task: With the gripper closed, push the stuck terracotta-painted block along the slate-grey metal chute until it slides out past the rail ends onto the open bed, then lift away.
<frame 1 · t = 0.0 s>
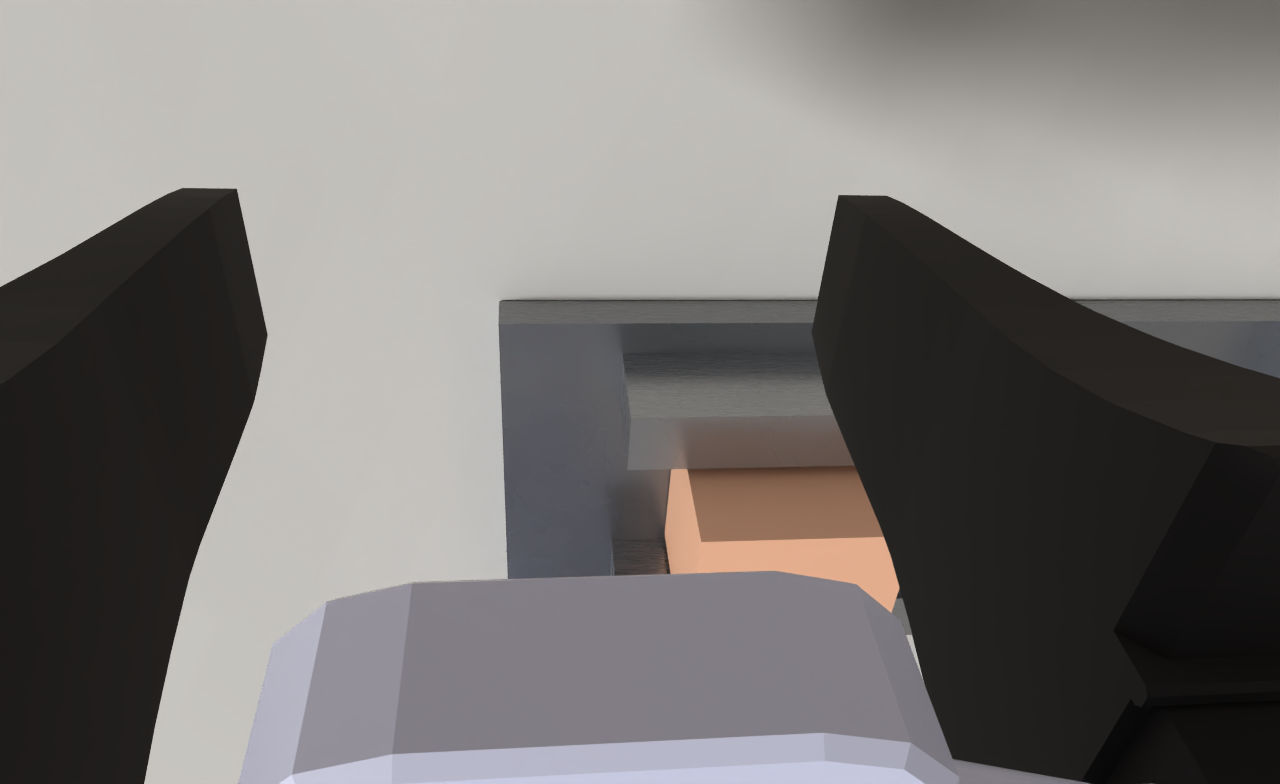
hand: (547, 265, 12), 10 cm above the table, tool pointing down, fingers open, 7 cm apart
chute: (888, 447, 28), on the table
block: (776, 534, 25), point 3 cm above the table, slide at 0.0 cm
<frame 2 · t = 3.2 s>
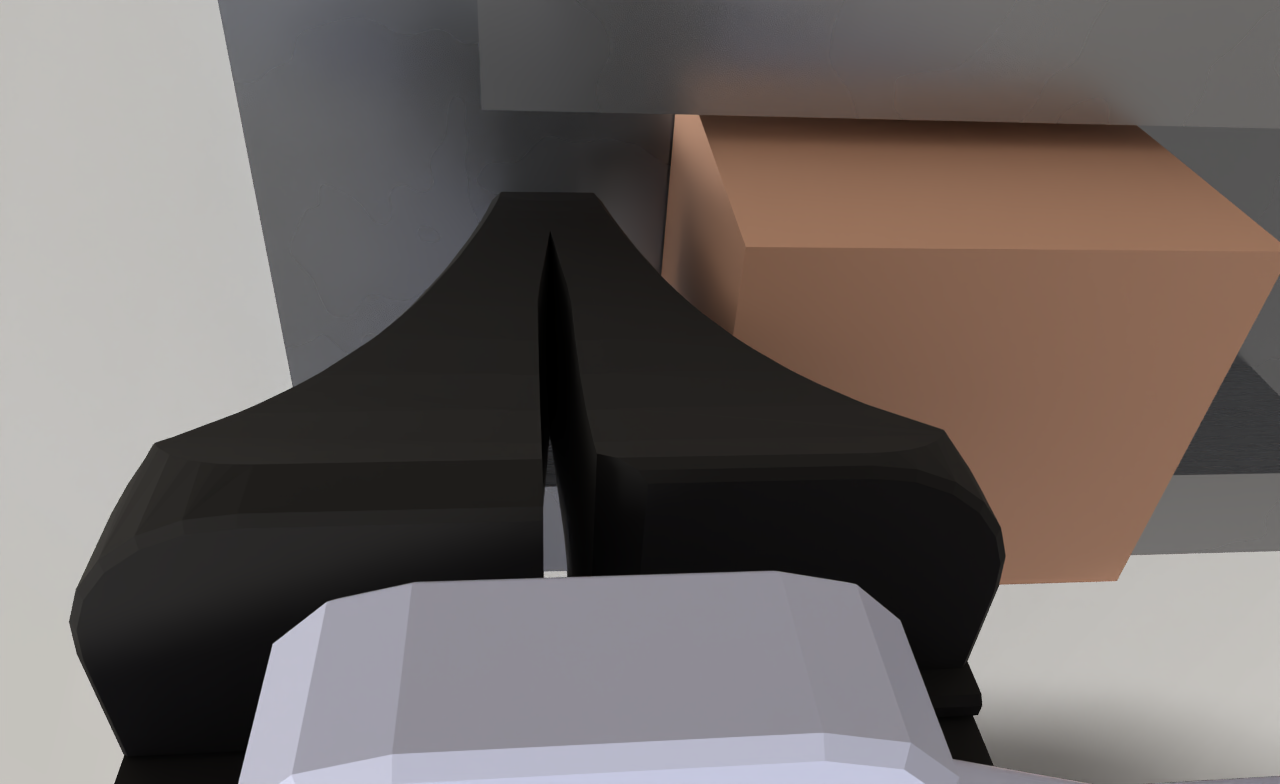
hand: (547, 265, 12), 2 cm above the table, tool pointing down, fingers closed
chute: (1038, 193, 15), on the table
block: (895, 317, 12), point 3 cm above the table, slide at 0.8 cm, touching gripper
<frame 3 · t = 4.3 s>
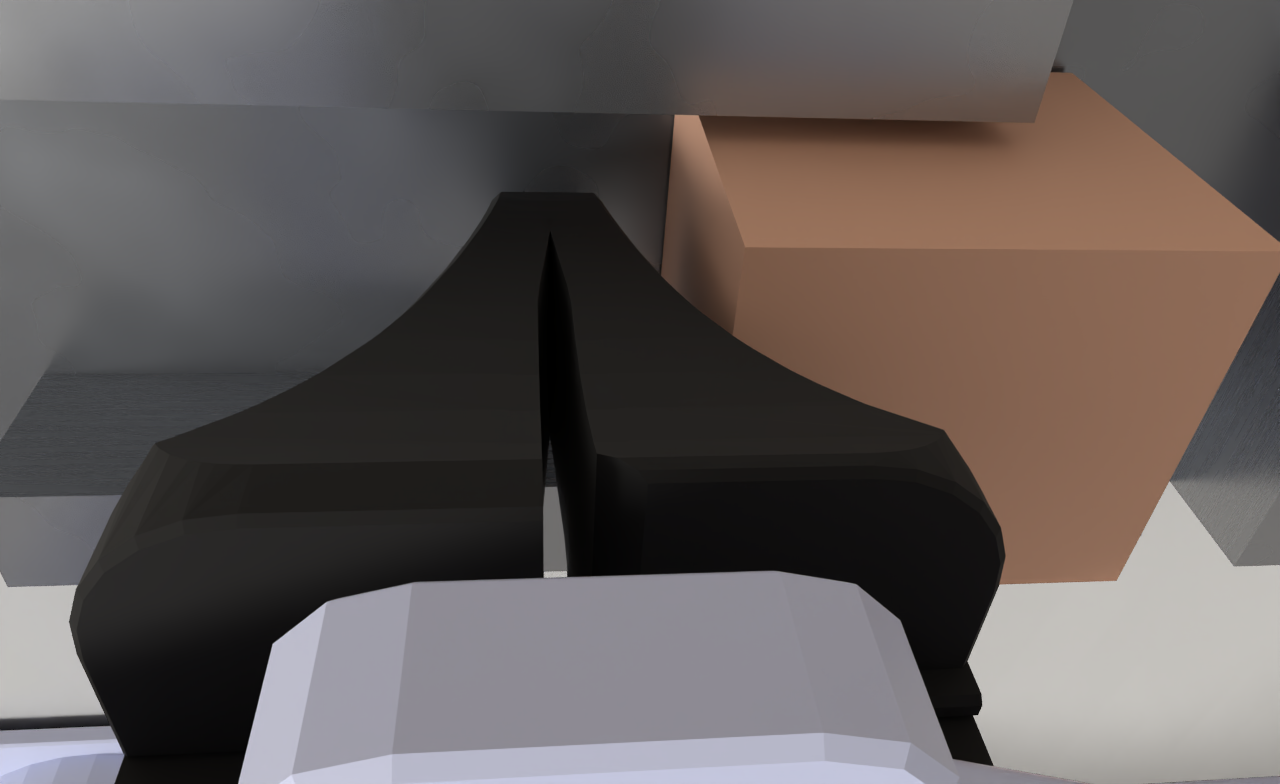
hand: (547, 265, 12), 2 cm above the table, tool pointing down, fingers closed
chute: (613, 187, 14), on the table
block: (895, 317, 12), point 3 cm above the table, slide at 7.1 cm, touching gripper
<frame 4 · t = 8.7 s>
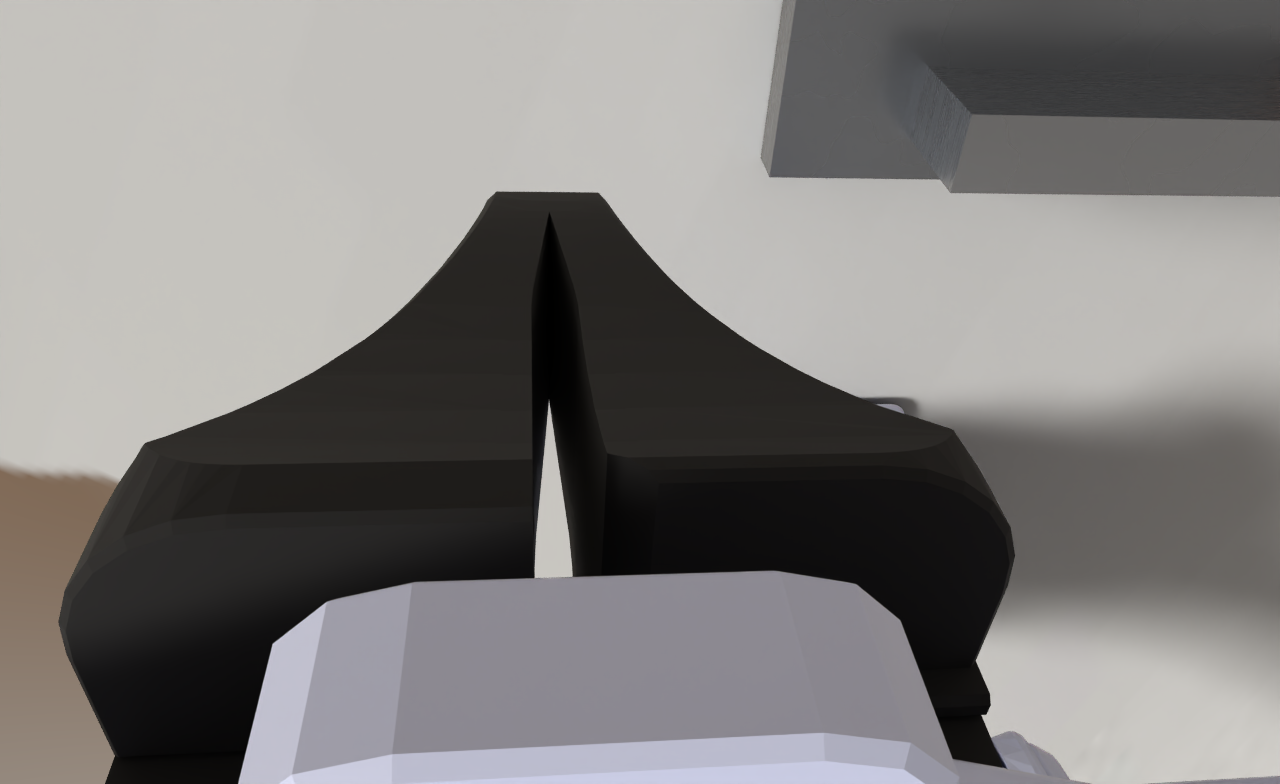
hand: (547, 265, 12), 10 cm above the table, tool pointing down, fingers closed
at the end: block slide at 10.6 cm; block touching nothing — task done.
